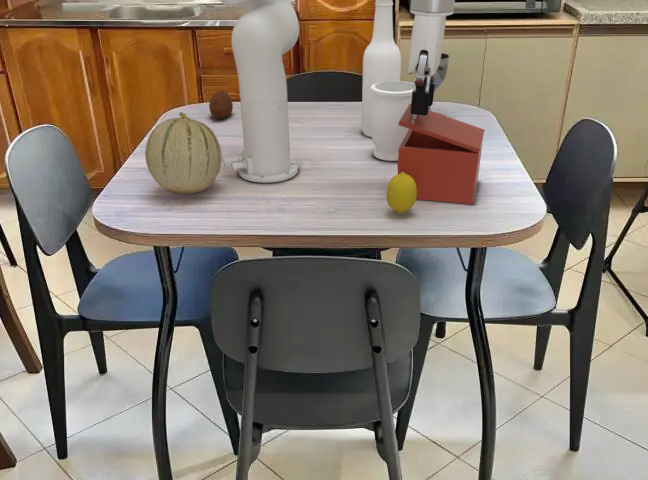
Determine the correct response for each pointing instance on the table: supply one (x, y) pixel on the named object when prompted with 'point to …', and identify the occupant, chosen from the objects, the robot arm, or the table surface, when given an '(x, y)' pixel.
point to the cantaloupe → (183, 155)
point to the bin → (439, 168)
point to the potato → (220, 104)
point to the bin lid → (444, 129)
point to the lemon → (401, 192)
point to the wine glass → (441, 72)
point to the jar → (389, 117)
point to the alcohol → (379, 59)
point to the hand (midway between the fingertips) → (421, 108)
